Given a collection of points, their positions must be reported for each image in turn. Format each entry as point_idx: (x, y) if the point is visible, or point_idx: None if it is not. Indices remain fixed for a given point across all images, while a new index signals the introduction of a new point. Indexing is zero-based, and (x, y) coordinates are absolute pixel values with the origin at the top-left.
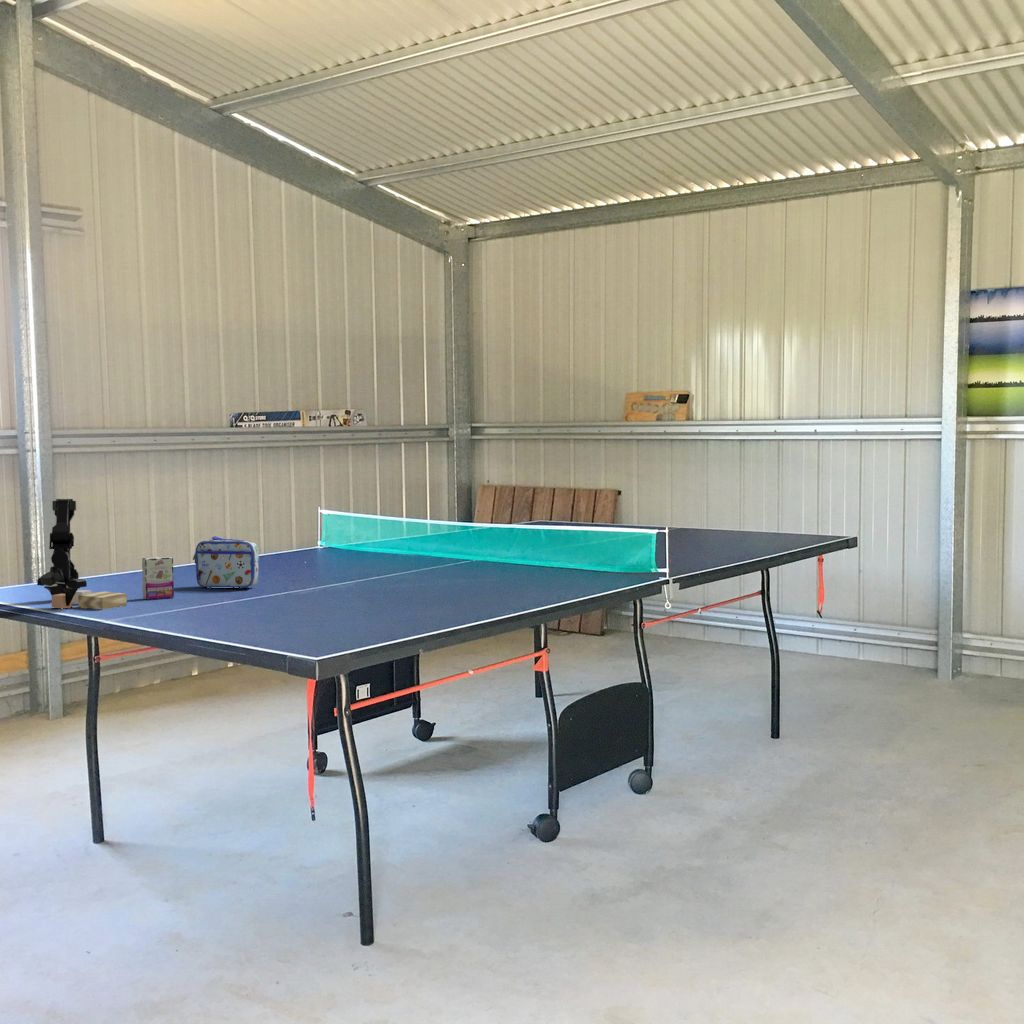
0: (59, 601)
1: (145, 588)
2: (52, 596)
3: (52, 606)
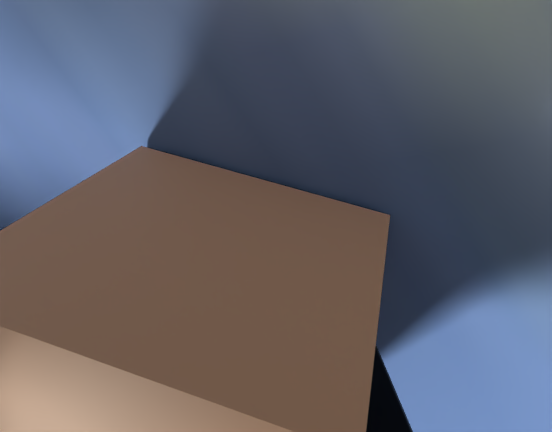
0: (118, 233)
1: None
2: (327, 402)
3: (369, 232)
